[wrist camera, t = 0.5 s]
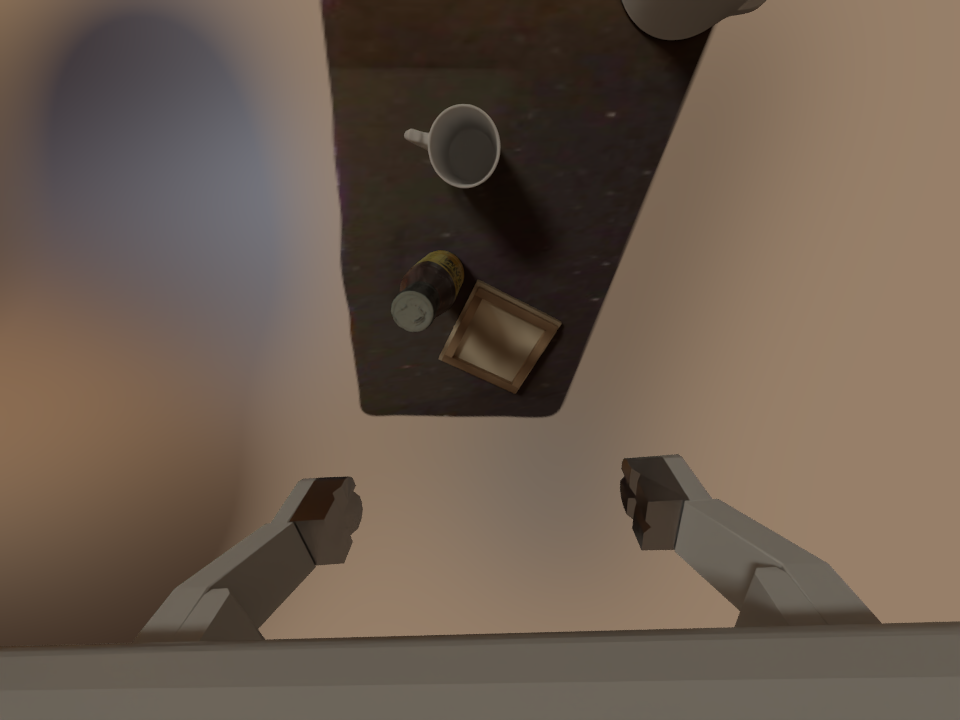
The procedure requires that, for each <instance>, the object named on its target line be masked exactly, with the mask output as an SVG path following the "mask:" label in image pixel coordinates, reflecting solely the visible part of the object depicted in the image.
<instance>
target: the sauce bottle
mask: <svg viewBox="0 0 960 720" xmlns="http://www.w3.org/2000/svg"><path fill="white" fill-rule="evenodd" d="M463 280H464V269H463V266H462V263H461V262H460V260H459V259H458V257H457V256H456V255H454V254H452V253H450V252H448V251H442V250H439V251H434V252H431V253H429V254H428V255H427V256H426V257H424V258H423V259H422V260H421V261H419V262H418V263H417V264H416V265H414V266H413V267H412V268H411V269H410V270H409V271H408V272H407V273H406V275H405V276H404V278H403V279H402V282H401V286H400V293H399V294H398V295H397V296H396V297H395V298H394V300H393V302H392V306H391V312H392V316H393V318H394V321H395V322H396V324H397V325H398V326H400V327H401V328H403V329H404V330H407V331H410V332H419V331H422V330H425V329H426V328H428V327H429V326H430V325H431V323H432V322H433V321H434V319H435V318H436V317H437V316H439V315H441V314H442V313H444V312H446V311H447V310H449V309H450V308H451V307H452V305H453V303H454V301H455V299H456V297H457V295H458V292H459V290H460V288H461V285H462V283H463Z"/></svg>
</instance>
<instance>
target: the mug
mask: <svg viewBox="0 0 960 720" xmlns="http://www.w3.org/2000/svg"><path fill="white" fill-rule="evenodd" d="M404 137H405V139H406V140H408V141H410V142H412V143H414V144H415V145H417V146H420V147H422V148H424V149H427V150H428V153H429V157H430V161H431V163H432V166H433V168H434V169H435V171H436V172H437V174H438V175H439V176H440V177H441V178H442V179H443V180H444V181H445V182H447V183H448V184H450V185H452V186H455V187H458V188H472V187H475V186H478V185H480V184H482V183H483V182H485V181H486V180H487V179H488V178H489V177H490V176H491V175H492V173H493V172H494V170H495V168H496V166H497V164H498V161H499V157H500V138H499V134H498V131H497V128H496V126H495V124H494V122H493V121H492V119H491V118H490V117H489V116H488V115H487V114H486V113H485V112H484V111H483V110H481V109H480V108H478V107H475V106H473V105H468V104H458V105H454V106H451V107H449V108H447V109H446V110H444V111H443V112H442V113H441V114H440V115H439V116H438V117H437V118H436V120H435V121H434V123H433V125H432V127H431V130H430V133H425V132H421V131H418V130H414V129H409V130H408V131H406V132H405V134H404Z"/></svg>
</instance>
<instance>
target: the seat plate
mask: <svg viewBox="0 0 960 720" xmlns="http://www.w3.org/2000/svg"><path fill="white" fill-rule="evenodd" d="M561 324H562V323H561V321H559V320H557V319H555V318H553V317H551V316H549V315H547V314H546V313H544V312H542V311H540V310H538V309H536V308H534V307H532V306H530V305H528V304H526V303H524V302H522V301H520V300H518V299H516V298H514V297H512V296H510V295H508V294H506V293H504V292H502V291H500V290H498V289H496V288H494V287H492V286H490V285H488V284H486V283H484V282H482V281H480V280H477V282H476V284H475V286H474V288H473V290H472V292H471V294H470V296H469V298H468V300H467V302H466V304H465V306H464V308H463V310H462V312H461V314H460V316H459V318H458V320H457V322H456V324H455V326H454V328H453V330H452V332H451V334H450V336H449V338H448V340H447V342H446V344H445V346H444V348H443V350H442V352H441V354H440V356H439V359H440V360H442V361H444V362H446V363H448V364H450V365H452V366H455V367H457V368H459V369H461V370H464V371H466V372H468V373H470V374H472V375H475V376H477V377H479V378H481V379H483V380H486V381H488V382H490V383H492V384H495V385H497V386H499V387H501V388H503V389H506V390H508V391H510V392H512V393H514V394H516V393H517V391H518V390H519V388H520V386H521V385H522V383H523V382H524V380H525V379H526V377H527V376H528V374H529V373H530V371H531V370H532V368H533V367H534V365H535V364H536V362H537V361H538V359H539V357H540V356H541V354H542V353H543V351H544V350H545V348H546V347H547V345H548V344H549V342H550V341H551V339H552V338H553V336H554V335H555V333H556V332H557V330H558V328H559V327H560V325H561Z"/></svg>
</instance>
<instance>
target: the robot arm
mask: <svg viewBox="0 0 960 720" xmlns="http://www.w3.org/2000/svg"><path fill="white" fill-rule="evenodd" d="M765 1H766V0H622V3H623V5H624V7H625V9H626V11H627V13H628V15H629V16H630V18H631V19H632V20H633V22H634V23H635V24H636V25H637V26H638V27H639V28H640V29H642V30H643V31H644V32H646V33H647V34H649V35H651V36H653V37H656V38H659V39H664V40H681V39H686V38H689V37H692V36H695V35H697V34H700V33H702V32H704V31H705V30H707V29H709V28H710V27H712V26H713V25H715V24H716V23H718V22H719V21H721V20H722V19H724V18H726V17H728V16H732V15H739V14H745V13H749V12H752V11H754V10H756V9H757V8H758V7H759V6H761V5H762V4H763V3H764V2H765ZM621 469H622V471H623V473H624V477H623V478H622V480H621V481H620V492H621V499H622V503H623V506H624V509H625V511H626V514H627V515H628V516H630V517H631V518H632V519H633V526H632V529H633V531H634V533H635V536H636V538H637V540H638V543H639V545H640V548H641V550H675V552H676V553H677V554H678V555H679V556H681V557H682V558H683V559H684V560H685V561H686V562H687V563H688V564H689V565H690V566H691V567H693V569H695V570H696V571H697V572H698V573H699V574H700V575H701V576H702V577H703V578H704V579H706V580H707V581H708V582H709V583H710V584H711V585H712V586H713V587H714V588H716V590H718V591H719V592H720V593H721V594H722V595H723V596H724V597H725V598H726V599H728V601H730V602H731V603H732V604H733V605H734V606H735V607H736V608H737V609H739V611H740V614H739V616H738V619H737V622H736V625H735V627H734V628H733V627H732V628H693V629H659V630H658V629H656V630H618V631H617V630H616V631H579V632H543V633H542V632H540V633H505V634H466V635H427V636H391V637H351V638H313V639H274V640H265V639H264V637H263V636H262V634H261V633H260V632H259V630H258V628H259V627H260V626H261V625H262V624H263V623H264V622H265V621H266V620H267V619H268V618H269V617H270V615H271V614H272V613H273V612H274V611H275V610H276V609H277V608H278V607H279V606H280V605H281V604H282V603H283V602H284V600H285V599H286V598H287V597H288V596H289V595H290V594H291V593H292V592H293V591H294V590H295V589H296V588H297V587H298V585H299V584H300V583H301V582H302V581H303V580H304V579H305V578H306V577H307V576H308V575H309V574H310V572H312V570H313V569H314V568H315V567H316V566H315V565H327V564H340V563H344V562H345V560H346V557H347V555H348V552H349V550H350V547H351V544H352V539H351V536H350V535H351V534H352V533H353V532H354V531H356V530H357V529H358V527H359V524H360V521H361V518H362V510H363V509H362V502H361V499H360V496H359V495H357V494H356V493H355V492H353V490H354V488H355V486H356V485H355V483H354V481H353V478H352V477H325V478H309V479H302V480H300V481H299V482H298V483H297V484H296V486H295V487H294V489H293V491H292V492H291V493H290V495H289V496H288V498H287V499H286V501H285V502H284V504H283V505H282V507H281V509H280V510H279V511H278V513H277V514H276V516H275V517H274V519H273V520H272V522H271V523H269V524H264V525H263V526H262V527H260V528H259V529H257V530H256V531H255V532H253V533H252V534H250V535H249V536H248V537H246V538H245V539H243V540H242V541H241V542H239V543H238V544H237V545H235V546H234V547H233V548H231V549H229V550H228V551H227V552H225V553H224V554H223V555H221V556H220V557H218V558H217V559H216V560H214V561H213V562H211V563H210V564H209V565H207V566H206V567H204V568H203V569H202V570H200V571H199V572H198V573H196V574H195V575H193V576H192V577H191V578H189V579H188V580H186V581H185V582H183V583H182V584H181V585H179V586H178V587H176V588H175V589H174V590H173V592H172V593H171V594H170V595H169V597H168V598H167V599H166V601H165V602H164V603H163V604H162V605H161V607H160V608H159V609H158V610H157V612H156V613H155V614H154V615H153V617H152V618H151V619H150V620H149V622H148V623H147V624H146V625H145V627H144V628H143V629H142V630H141V632H140V633H139V634H138V635H137V637H136V638H135V639H134V641H133V642H132V643H114V644H76V645H35V646H0V720H960V622H925V623H888V624H887V623H886V624H882V623H881V622H880V621H879V620H878V619H877V617H875V615H874V614H873V613H872V612H871V611H870V610H869V609H868V608H867V606H866V605H865V604H864V603H863V602H862V601H861V600H860V599H859V597H858V596H857V595H856V594H855V593H854V592H853V591H852V590H851V588H850V587H849V586H848V585H847V584H846V583H845V582H844V581H843V580H842V578H841V577H840V576H839V575H838V574H837V573H836V572H835V571H834V569H833V568H832V567H831V566H830V565H829V564H828V563H826V562H824V561H823V560H821V559H819V558H818V557H816V556H814V555H813V554H811V553H809V552H808V551H806V550H804V549H802V548H800V547H799V546H797V545H796V544H794V543H792V542H790V541H789V540H787V539H785V538H783V537H782V536H780V535H779V534H777V533H775V532H773V531H772V530H770V529H768V528H767V527H765V526H763V525H762V524H760V523H758V522H756V521H755V520H753V519H751V518H750V517H748V516H746V515H744V514H743V513H741V512H739V511H738V510H736V509H734V508H733V507H731V506H729V505H728V504H726V503H724V502H722V501H721V500H719V499H712V498H711V497H710V495H709V494H708V493H707V491H706V490H705V488H704V487H703V486H702V484H701V483H700V481H699V480H698V479H697V477H696V476H695V474H694V473H693V472H692V470H691V469H690V467H689V466H688V465H687V463H686V462H685V460H684V459H683V458H682V457H681V456H680V455H678V454H676V455H663V456H652V457H638V458H624V459H623V461H622V468H621Z"/></svg>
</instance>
